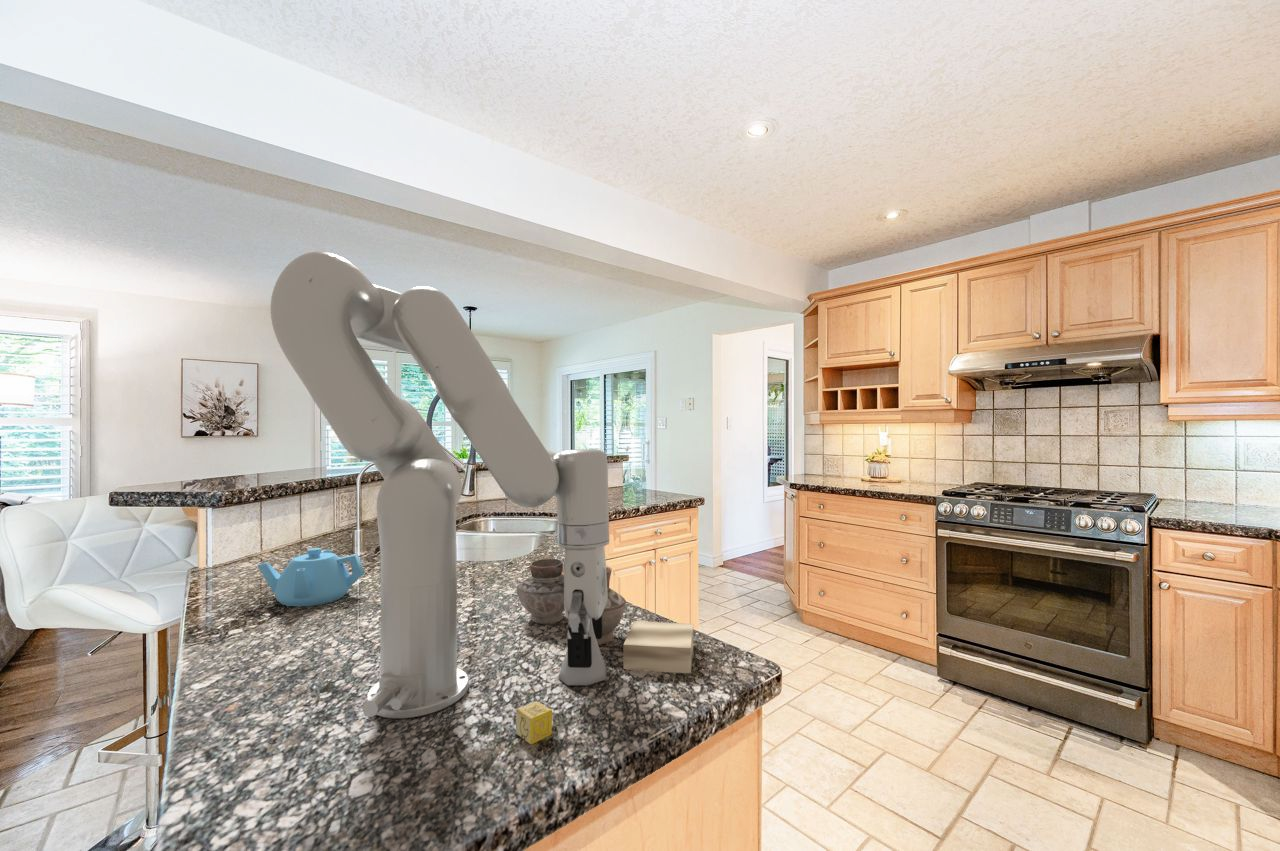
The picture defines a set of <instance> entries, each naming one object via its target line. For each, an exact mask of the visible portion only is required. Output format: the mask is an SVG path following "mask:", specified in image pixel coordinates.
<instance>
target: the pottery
mask: <svg viewBox="0 0 1280 851" xmlns="http://www.w3.org/2000/svg"><path fill="white" fill-rule="evenodd" d="M563 569H564V561H562V560H560V559H557V558H541V559H537V560H533V561H531V562H530V564H529V570H530V573H531V574H530V576H528V577H527V578H526V579H524V580H523V581H522V582H519V583H518V585H517V586H516V594H517V595H516V596H517V597H518V600H519V602H520V604H521V605H522V607H523V608H524V609H525V610H526V611H527V612H528V613H529V614H530V618H531V621H532V622H534V623H535V624H542V625H545V624H554V623H557V622H559V621H561V620H563V612H565V608H564V574H562V573H563ZM606 575H607V591H608V600H607V603H606V606H605V608H604V611H603V613H602V638H601V639H596V640H597V643H598V645H605V644H609V643H611V642H612V641H614V639H615V635H614V630H615V629H617V628H618V626H619V624H620V623H621V620H622V618H623V616H624V612H625V609H626V604H627V601H626V599H625V598H624V597H623V595H621V594H619V592H617V591H615V590H613V589H612V588H611V587H610V580H611V575H612V568H611V567H610V566H606Z"/></svg>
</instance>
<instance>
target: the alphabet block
mask: <svg viewBox="0 0 1280 851" xmlns="http://www.w3.org/2000/svg"><path fill="white" fill-rule="evenodd" d="M515 712H516V713H515V714H516V715H515V717H516V718H515V734H516V735H517V736H518V737H520V738H521V739H523V740H524V741H525V742H527V743H528V744H529V745H533V744H535V743H537V742H540V741H541V740H544V739H545V738H547V737H549V736H551V735H552V731H553V730H552V728H553V725H552V724H553V710H552V709H551V708H549V707H547V706H546V705H544V704H542V702H539V701H537V700H534V701H532V702H530V703H526V704H525V705H522V706H520V707H517V708H516V711H515Z"/></svg>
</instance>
